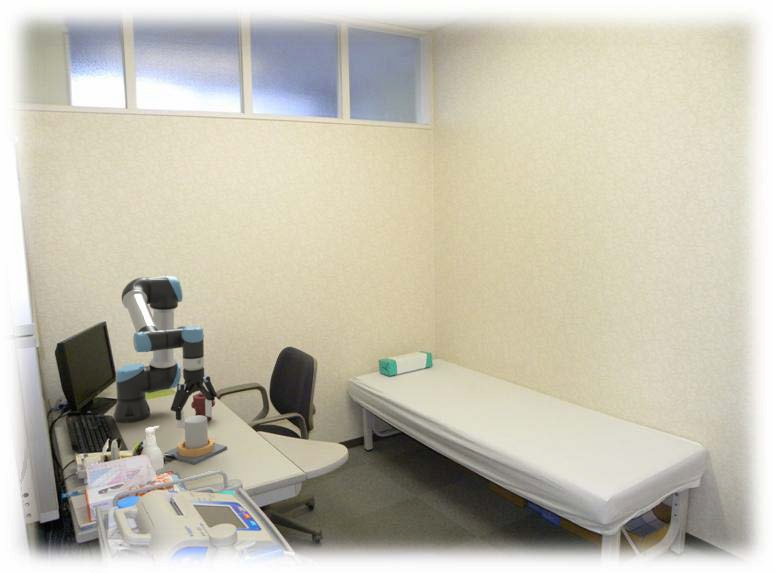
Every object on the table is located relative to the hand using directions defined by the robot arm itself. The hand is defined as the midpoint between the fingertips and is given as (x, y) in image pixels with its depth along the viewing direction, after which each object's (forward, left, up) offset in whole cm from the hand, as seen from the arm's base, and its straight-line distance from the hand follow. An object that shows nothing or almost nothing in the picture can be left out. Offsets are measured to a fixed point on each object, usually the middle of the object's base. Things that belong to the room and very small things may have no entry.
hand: (195, 421), depth 207 cm
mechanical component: (-24, +26, -12) cm, 37 cm away
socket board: (0, 0, -12) cm, 12 cm away
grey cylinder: (0, 0, -11) cm, 11 cm away
